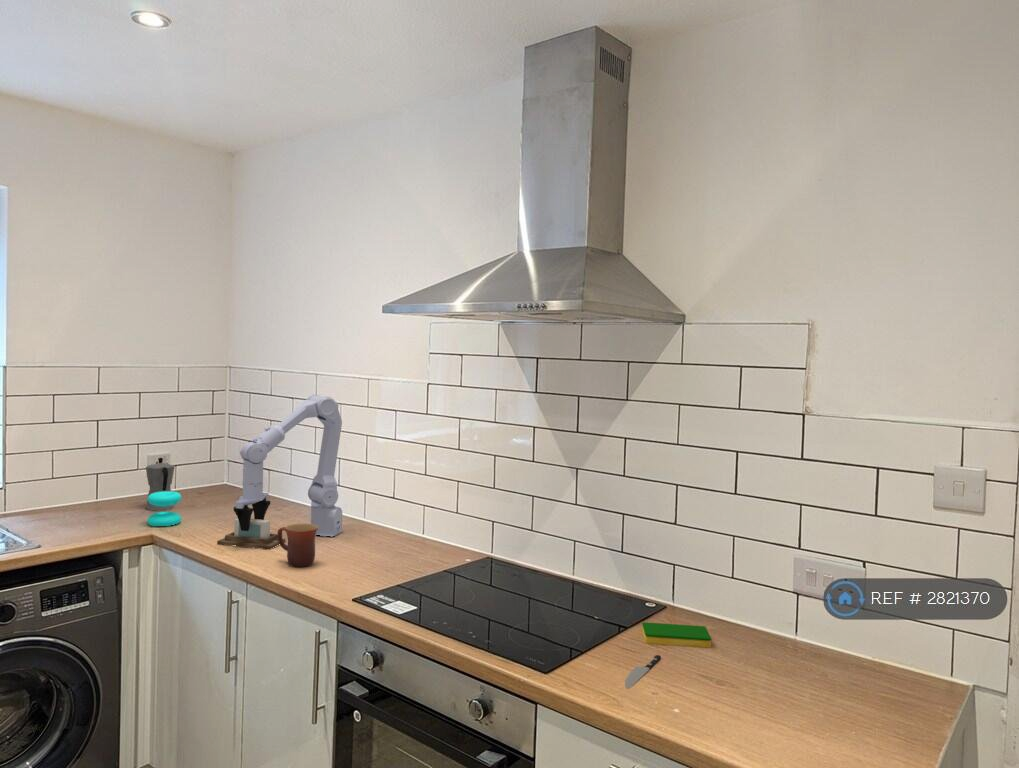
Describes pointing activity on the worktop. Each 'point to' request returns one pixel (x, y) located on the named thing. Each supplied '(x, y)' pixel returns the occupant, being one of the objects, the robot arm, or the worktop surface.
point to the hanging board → (250, 541)
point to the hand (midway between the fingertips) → (251, 527)
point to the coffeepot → (159, 481)
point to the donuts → (166, 516)
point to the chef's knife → (639, 672)
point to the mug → (299, 543)
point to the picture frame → (254, 529)
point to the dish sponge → (676, 634)
